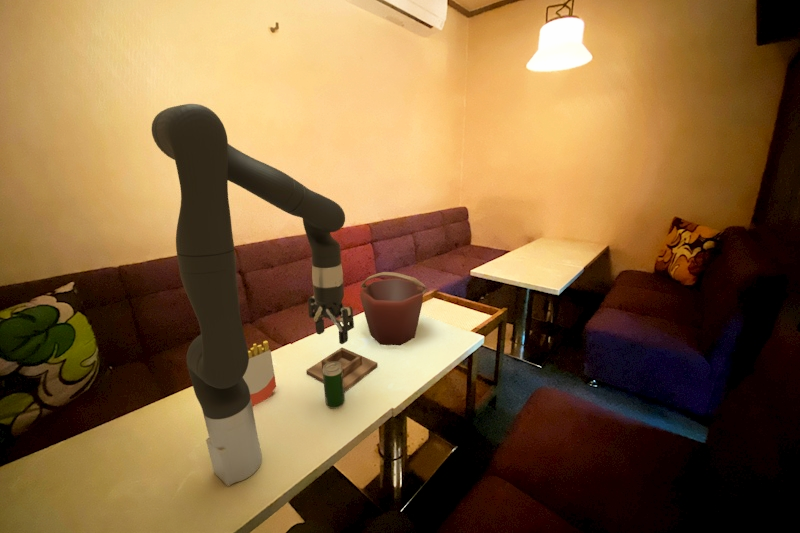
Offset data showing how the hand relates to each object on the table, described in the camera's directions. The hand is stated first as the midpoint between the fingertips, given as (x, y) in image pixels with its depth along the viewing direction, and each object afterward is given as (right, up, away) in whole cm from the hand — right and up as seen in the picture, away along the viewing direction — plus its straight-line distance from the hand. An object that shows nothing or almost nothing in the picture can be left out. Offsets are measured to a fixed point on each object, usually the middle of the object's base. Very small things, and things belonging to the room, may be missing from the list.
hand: (331, 337), depth 94 cm
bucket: (+15, -7, +40) cm, 44 cm away
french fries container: (-23, -19, +8) cm, 31 cm away
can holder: (0, -14, +20) cm, 25 cm away
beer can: (0, -20, +6) cm, 21 cm away
